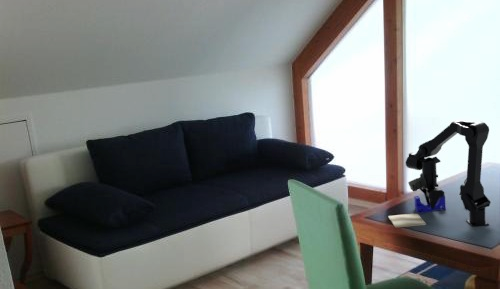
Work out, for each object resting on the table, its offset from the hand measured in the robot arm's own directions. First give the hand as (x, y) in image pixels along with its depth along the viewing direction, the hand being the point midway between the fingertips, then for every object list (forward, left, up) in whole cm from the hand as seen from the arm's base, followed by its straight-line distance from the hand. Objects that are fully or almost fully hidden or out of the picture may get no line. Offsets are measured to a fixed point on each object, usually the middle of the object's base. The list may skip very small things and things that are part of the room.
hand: (430, 207), depth 219 cm
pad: (-10, +13, -1) cm, 16 cm away
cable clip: (0, 0, -2) cm, 2 cm away
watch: (+7, -20, -1) cm, 21 cm away
